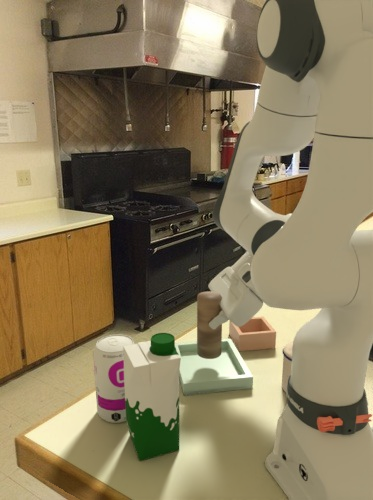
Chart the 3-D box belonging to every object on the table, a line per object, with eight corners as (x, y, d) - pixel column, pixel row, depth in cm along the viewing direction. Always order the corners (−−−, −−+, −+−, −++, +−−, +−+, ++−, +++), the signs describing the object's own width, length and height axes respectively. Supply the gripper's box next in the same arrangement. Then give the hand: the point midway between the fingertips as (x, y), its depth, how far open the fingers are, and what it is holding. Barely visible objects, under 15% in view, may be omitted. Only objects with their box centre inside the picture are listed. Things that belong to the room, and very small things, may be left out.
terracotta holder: (275, 348, 109) (276, 331, 107) (239, 351, 107) (239, 335, 106) (262, 331, 118) (263, 316, 117) (229, 334, 116) (229, 319, 115)
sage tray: (252, 388, 91) (253, 376, 91) (183, 395, 89) (183, 383, 88) (230, 348, 108) (230, 338, 108) (172, 353, 106) (172, 343, 105)
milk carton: (186, 452, 73) (185, 347, 68) (134, 467, 70) (129, 357, 65) (169, 421, 81) (167, 325, 76) (122, 433, 78) (117, 333, 73)
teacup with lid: (314, 407, 85) (318, 354, 82) (273, 391, 90) (275, 341, 87) (335, 380, 94) (340, 332, 91) (296, 367, 99) (300, 321, 96)
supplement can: (146, 416, 83) (143, 346, 79) (105, 430, 79) (100, 357, 75) (130, 394, 89) (127, 329, 86) (92, 407, 86) (87, 339, 82)
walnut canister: (224, 357, 96) (225, 299, 92) (199, 360, 95) (200, 301, 91) (218, 345, 101) (219, 290, 97) (194, 347, 100) (195, 292, 96)
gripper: (228, 253, 103) (189, 294, 104) (255, 282, 84) (206, 331, 85) (245, 270, 105) (206, 309, 106) (275, 301, 86) (228, 349, 87)
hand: (207, 319), depth 96 cm, fingers closed on walnut canister, 6 cm apart
